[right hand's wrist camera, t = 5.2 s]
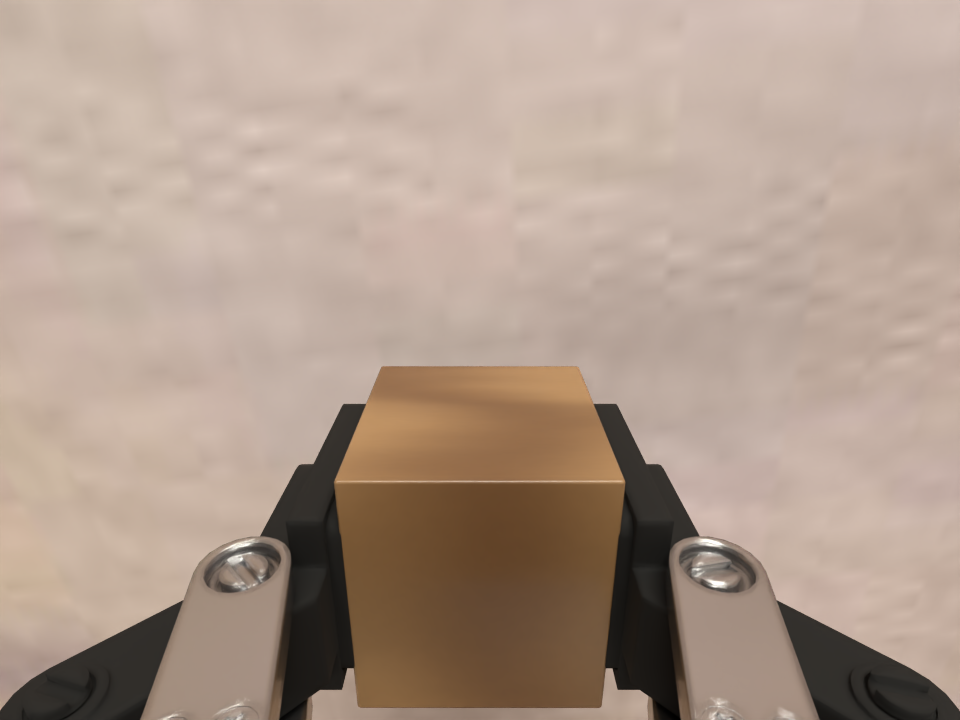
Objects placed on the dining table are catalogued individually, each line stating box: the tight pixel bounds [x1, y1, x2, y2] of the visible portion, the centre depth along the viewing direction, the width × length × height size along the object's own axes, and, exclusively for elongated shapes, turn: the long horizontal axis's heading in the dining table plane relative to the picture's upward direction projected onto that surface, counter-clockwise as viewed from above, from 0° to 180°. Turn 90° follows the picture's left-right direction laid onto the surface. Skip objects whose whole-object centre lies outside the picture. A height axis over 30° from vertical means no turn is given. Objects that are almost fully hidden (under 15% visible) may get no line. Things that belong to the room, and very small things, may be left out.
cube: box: [334, 366, 625, 708], centre depth 11 cm, size 4×4×4 cm
